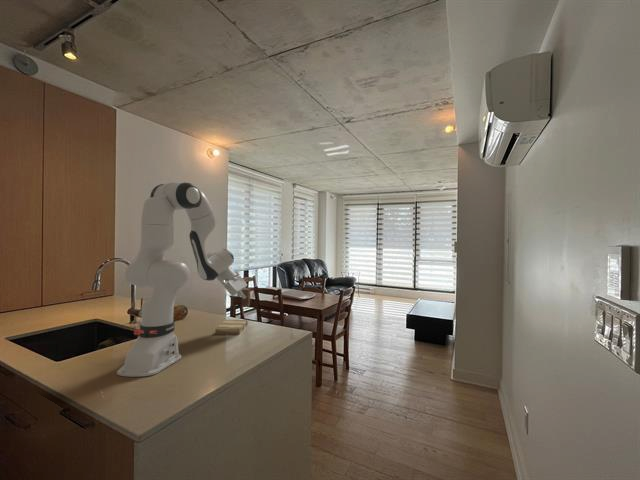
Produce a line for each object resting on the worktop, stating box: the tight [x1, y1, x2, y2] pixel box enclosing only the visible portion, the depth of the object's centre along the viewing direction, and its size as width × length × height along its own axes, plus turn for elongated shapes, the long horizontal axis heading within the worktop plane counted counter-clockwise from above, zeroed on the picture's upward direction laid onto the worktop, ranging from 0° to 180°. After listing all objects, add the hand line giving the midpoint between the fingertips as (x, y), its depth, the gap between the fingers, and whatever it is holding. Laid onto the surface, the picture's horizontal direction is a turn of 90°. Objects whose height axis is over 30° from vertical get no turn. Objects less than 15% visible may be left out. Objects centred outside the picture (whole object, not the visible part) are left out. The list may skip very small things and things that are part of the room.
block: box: [240, 287, 251, 308], centre depth 153 cm, size 4×4×9 cm
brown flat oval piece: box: [173, 304, 189, 321], centre depth 167 cm, size 15×3×8 cm, turn 143°
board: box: [214, 319, 249, 335], centre depth 153 cm, size 16×12×2 cm
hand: (247, 296), depth 153 cm, fingers closed on block, 4 cm apart
